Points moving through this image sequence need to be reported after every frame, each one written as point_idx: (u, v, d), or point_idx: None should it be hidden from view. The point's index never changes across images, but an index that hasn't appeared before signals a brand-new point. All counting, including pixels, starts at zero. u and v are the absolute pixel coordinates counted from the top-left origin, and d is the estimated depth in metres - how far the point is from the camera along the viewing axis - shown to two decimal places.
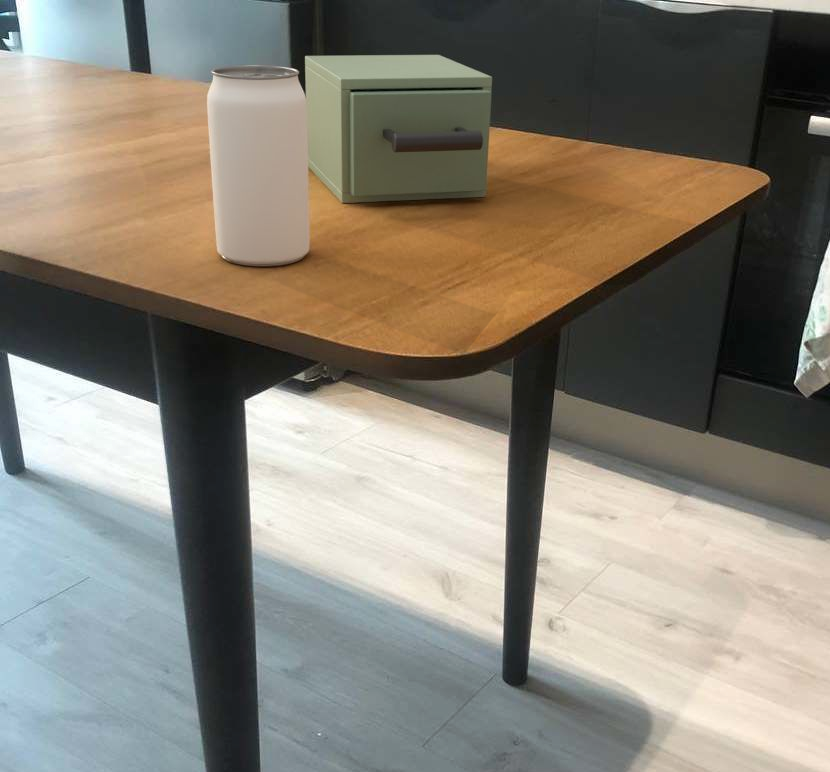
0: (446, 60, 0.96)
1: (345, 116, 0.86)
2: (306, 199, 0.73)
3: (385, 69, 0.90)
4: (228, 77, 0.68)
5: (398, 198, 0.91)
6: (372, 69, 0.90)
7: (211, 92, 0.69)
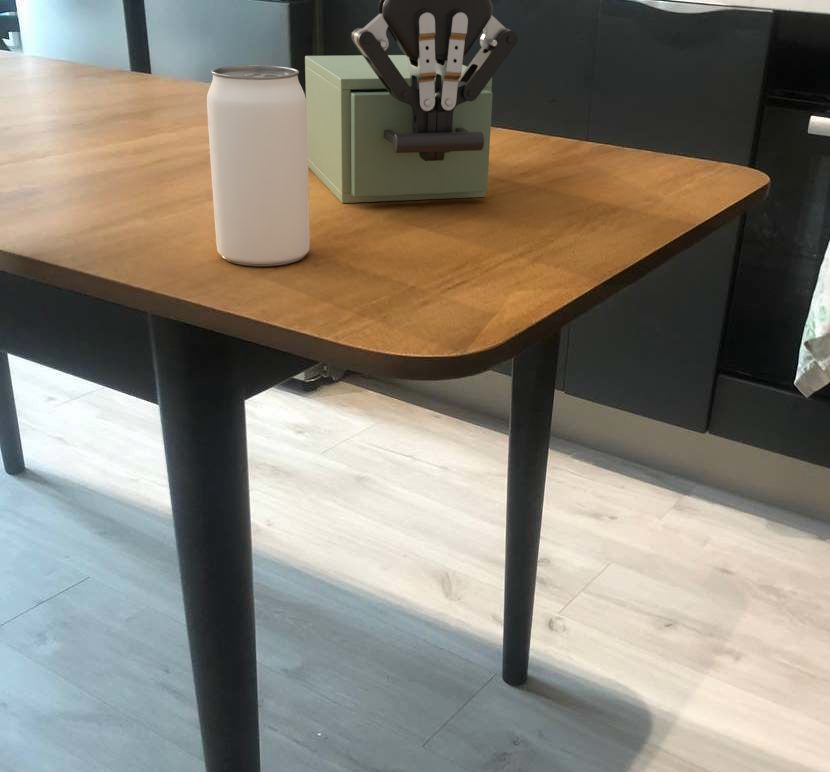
0: None
1: (345, 116, 0.86)
2: (306, 199, 0.73)
3: None
4: (228, 77, 0.68)
5: (398, 198, 0.91)
6: (372, 69, 0.90)
7: (211, 92, 0.69)
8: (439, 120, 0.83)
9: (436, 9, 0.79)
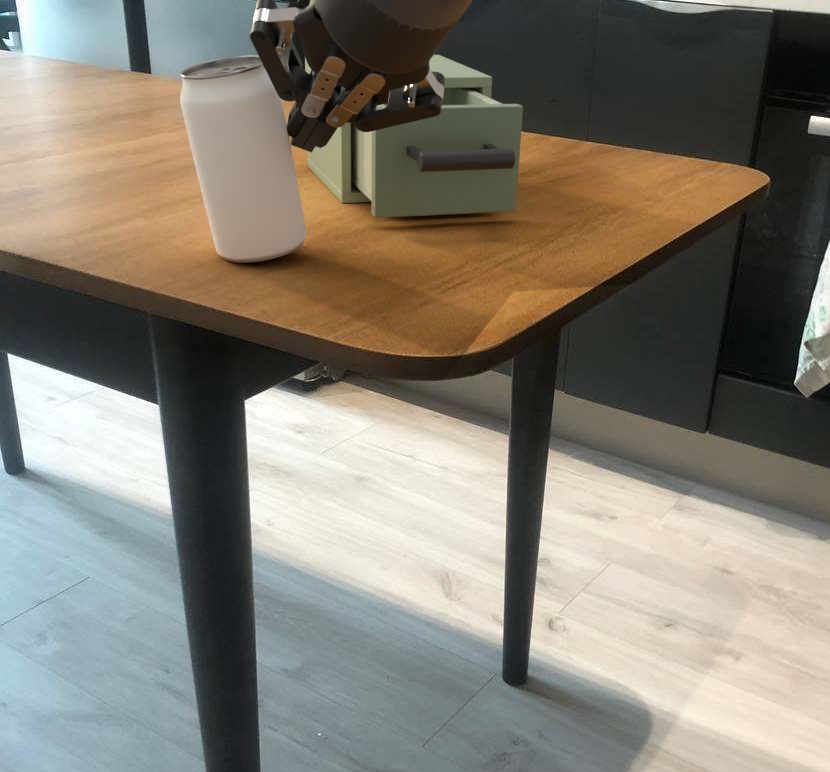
0: (446, 60, 0.96)
1: None
2: (295, 186, 0.73)
3: None
4: (196, 78, 0.67)
5: None
6: None
7: (183, 95, 0.69)
8: (318, 127, 0.70)
9: None
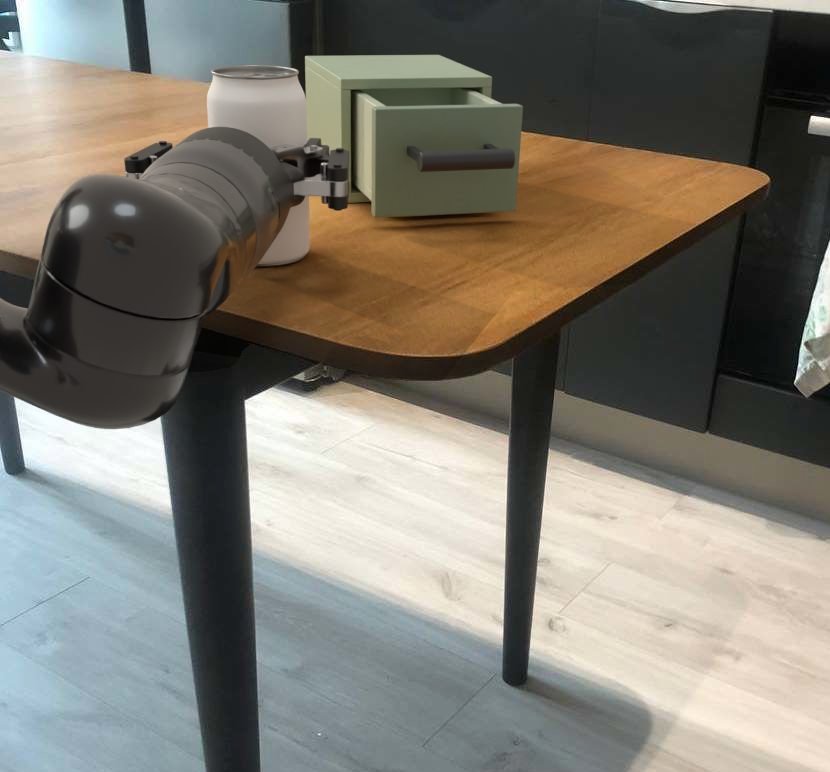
0: (446, 60, 0.96)
1: (345, 116, 0.86)
2: (307, 198, 0.73)
3: (385, 69, 0.90)
4: (230, 77, 0.68)
5: None
6: (372, 69, 0.90)
7: (212, 92, 0.69)
8: None
9: None
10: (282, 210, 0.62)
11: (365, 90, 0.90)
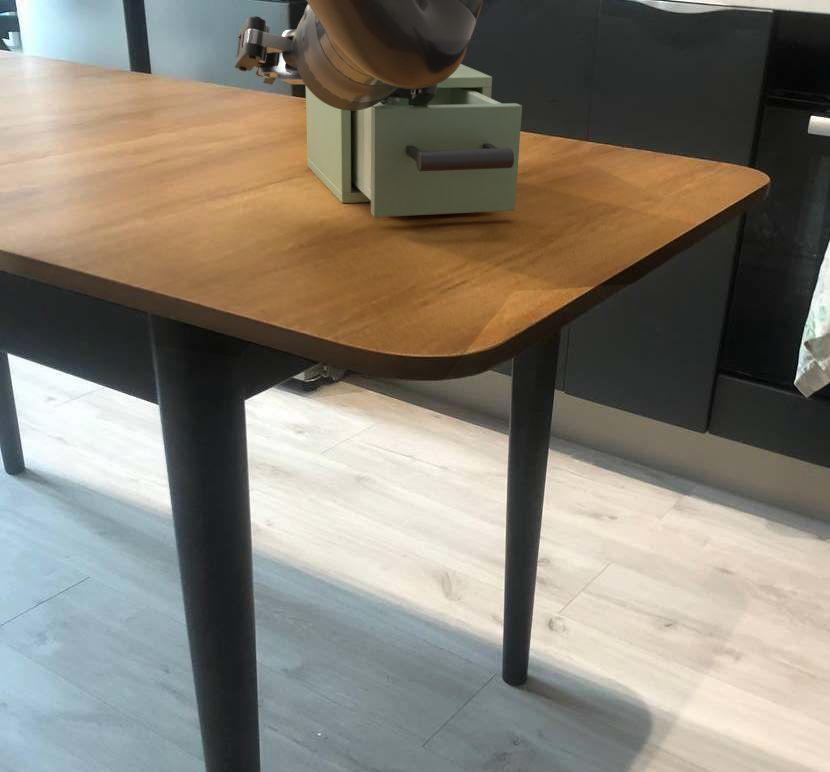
0: None
1: (345, 116, 0.86)
2: None
3: None
4: None
5: None
6: None
7: None
8: None
9: None
10: None
11: None
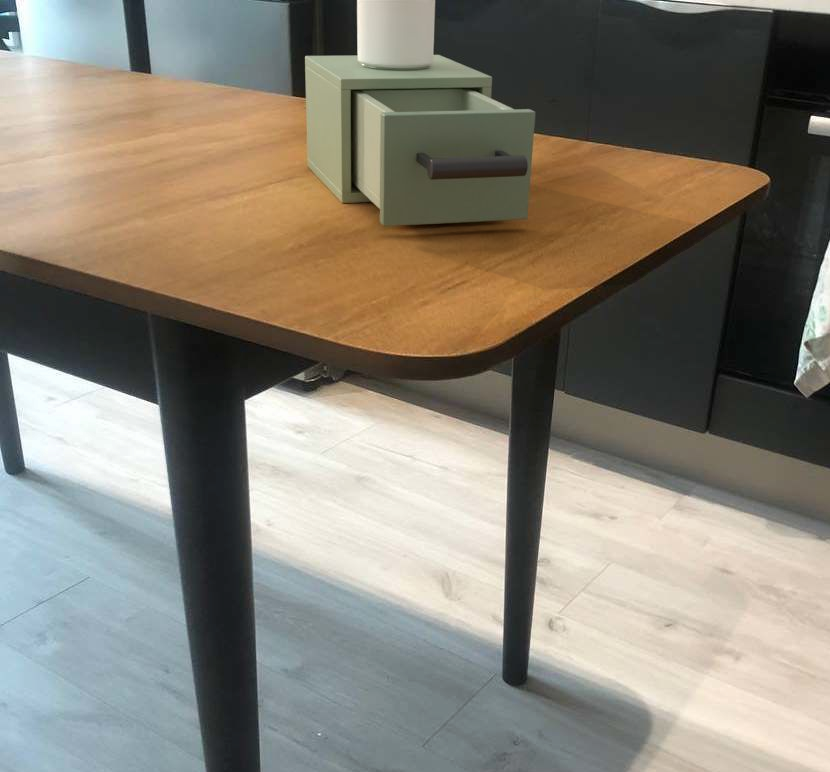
0: (446, 60, 0.96)
1: (345, 116, 0.86)
2: (434, 14, 0.90)
3: None
4: None
5: None
6: (372, 69, 0.90)
7: None
8: None
9: None
10: None
11: (372, 95, 0.87)
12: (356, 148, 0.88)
